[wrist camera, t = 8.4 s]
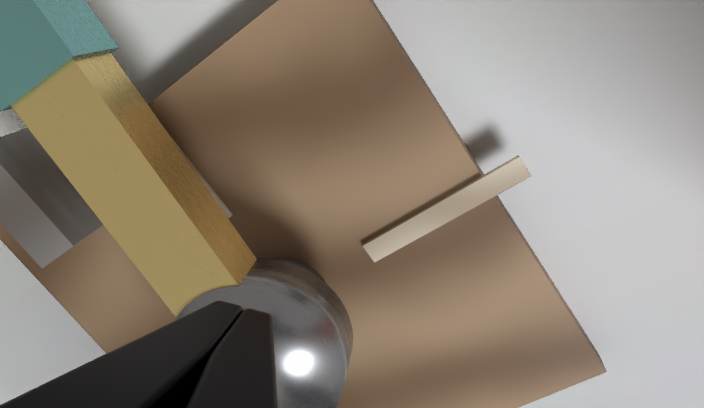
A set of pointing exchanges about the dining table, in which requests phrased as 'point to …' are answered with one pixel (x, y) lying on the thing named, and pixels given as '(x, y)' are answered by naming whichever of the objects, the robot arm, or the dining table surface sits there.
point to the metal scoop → (160, 194)
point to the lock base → (329, 215)
